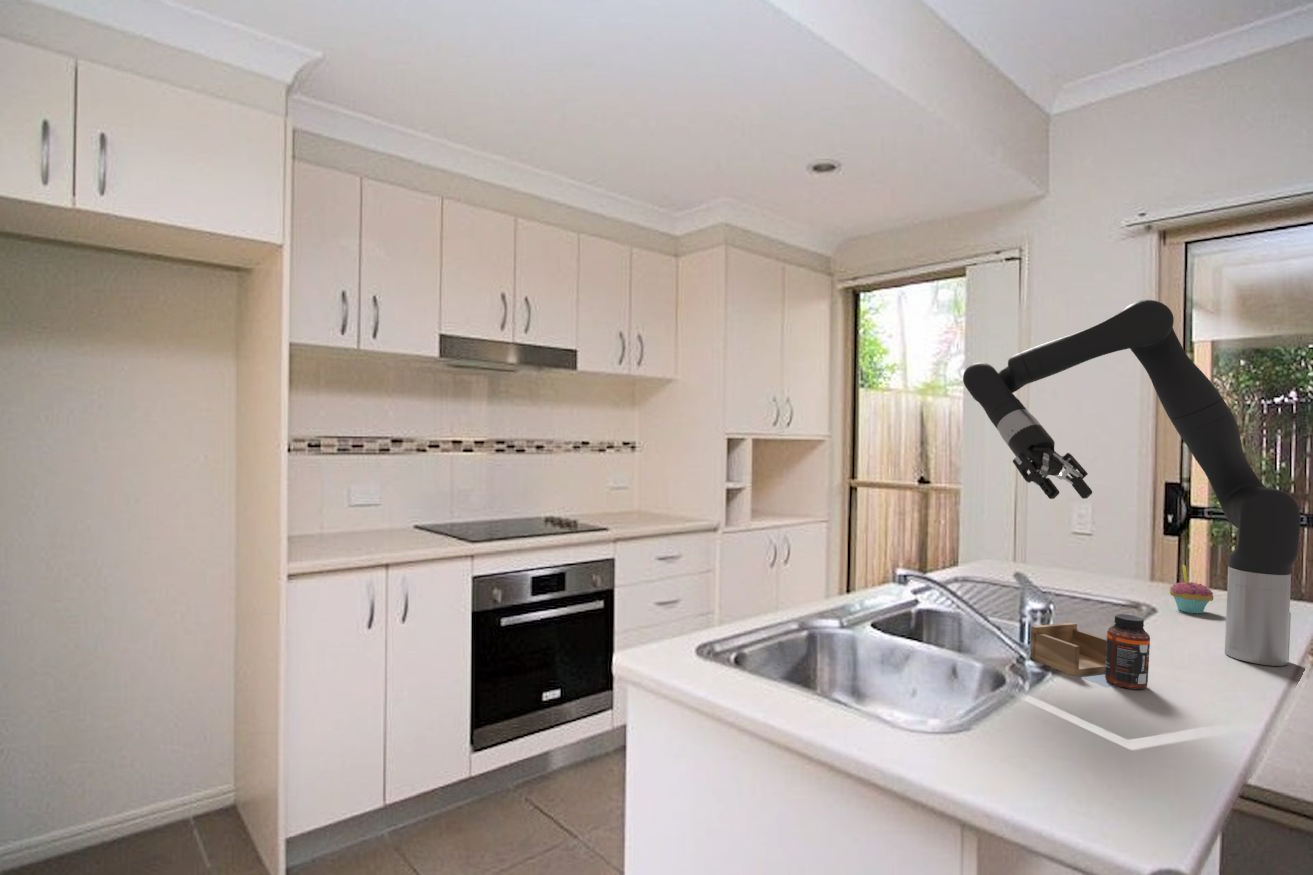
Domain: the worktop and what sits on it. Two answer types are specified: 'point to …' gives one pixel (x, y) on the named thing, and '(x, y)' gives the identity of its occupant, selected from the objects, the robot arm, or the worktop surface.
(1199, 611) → the cupcake
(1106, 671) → the supplement bottle
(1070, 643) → the tray
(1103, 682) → the plate
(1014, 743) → the worktop surface
